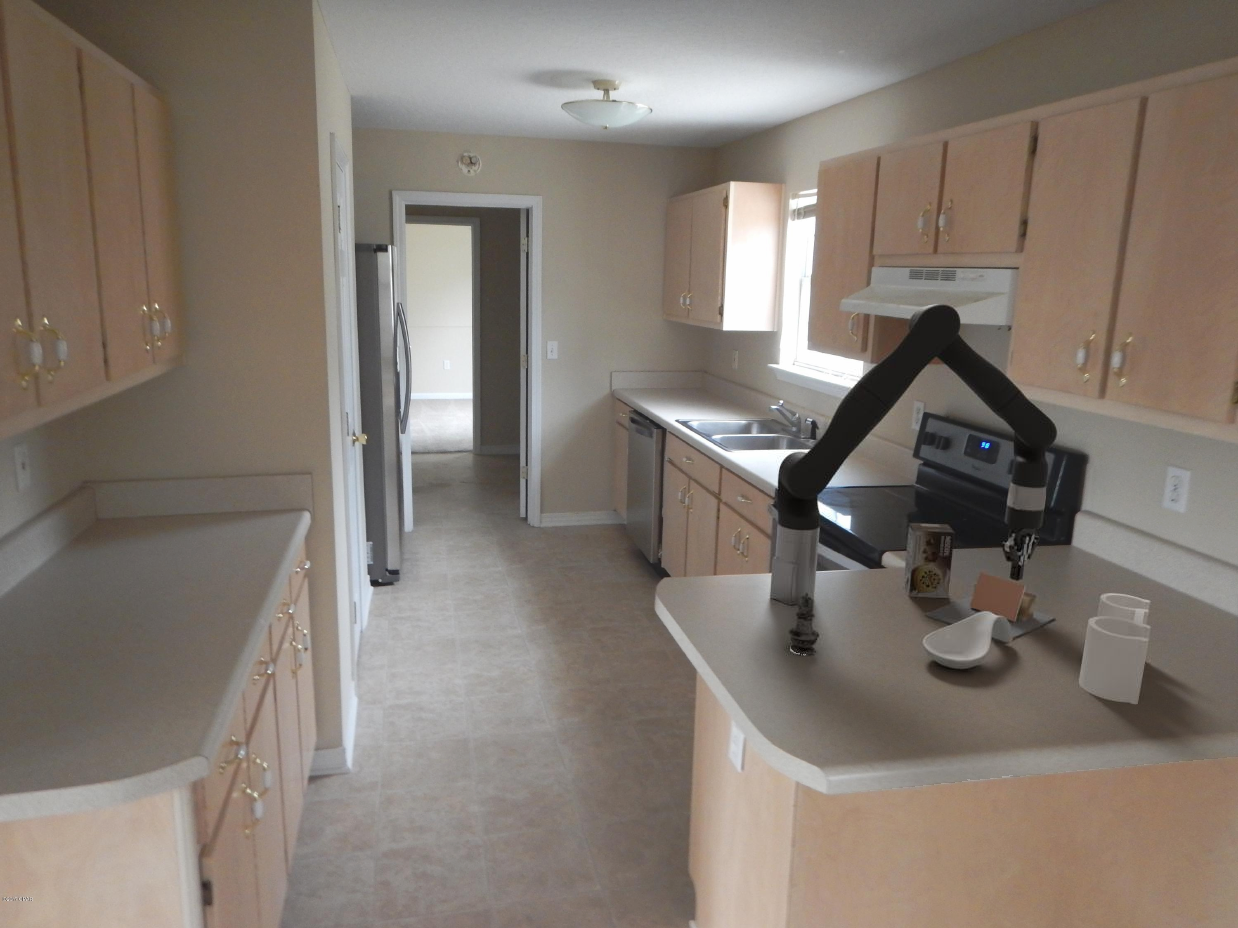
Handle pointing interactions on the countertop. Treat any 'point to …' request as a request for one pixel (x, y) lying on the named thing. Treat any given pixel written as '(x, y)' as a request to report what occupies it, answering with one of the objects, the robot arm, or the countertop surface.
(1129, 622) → the bracket
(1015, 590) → the tile
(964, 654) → the spoon rest
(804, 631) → the chess piece
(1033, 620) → the mat
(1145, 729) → the countertop surface
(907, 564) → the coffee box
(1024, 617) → the block
